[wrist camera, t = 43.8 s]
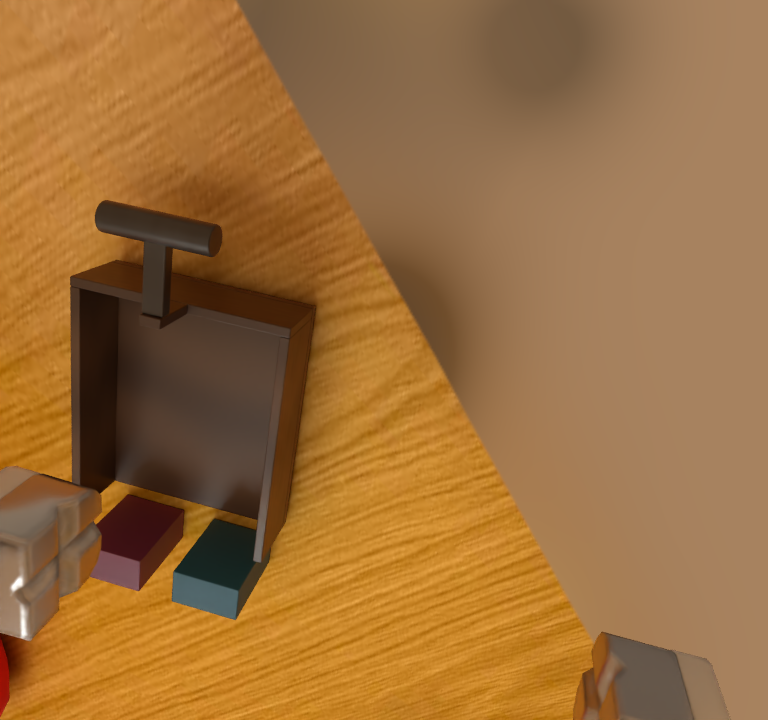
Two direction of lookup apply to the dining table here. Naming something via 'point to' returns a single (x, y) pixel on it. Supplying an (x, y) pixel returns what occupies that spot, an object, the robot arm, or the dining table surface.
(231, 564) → the teal packet
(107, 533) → the block
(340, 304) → the dining table surface
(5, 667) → the tomato
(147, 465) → the dark brown open tray
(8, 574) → the robot arm
